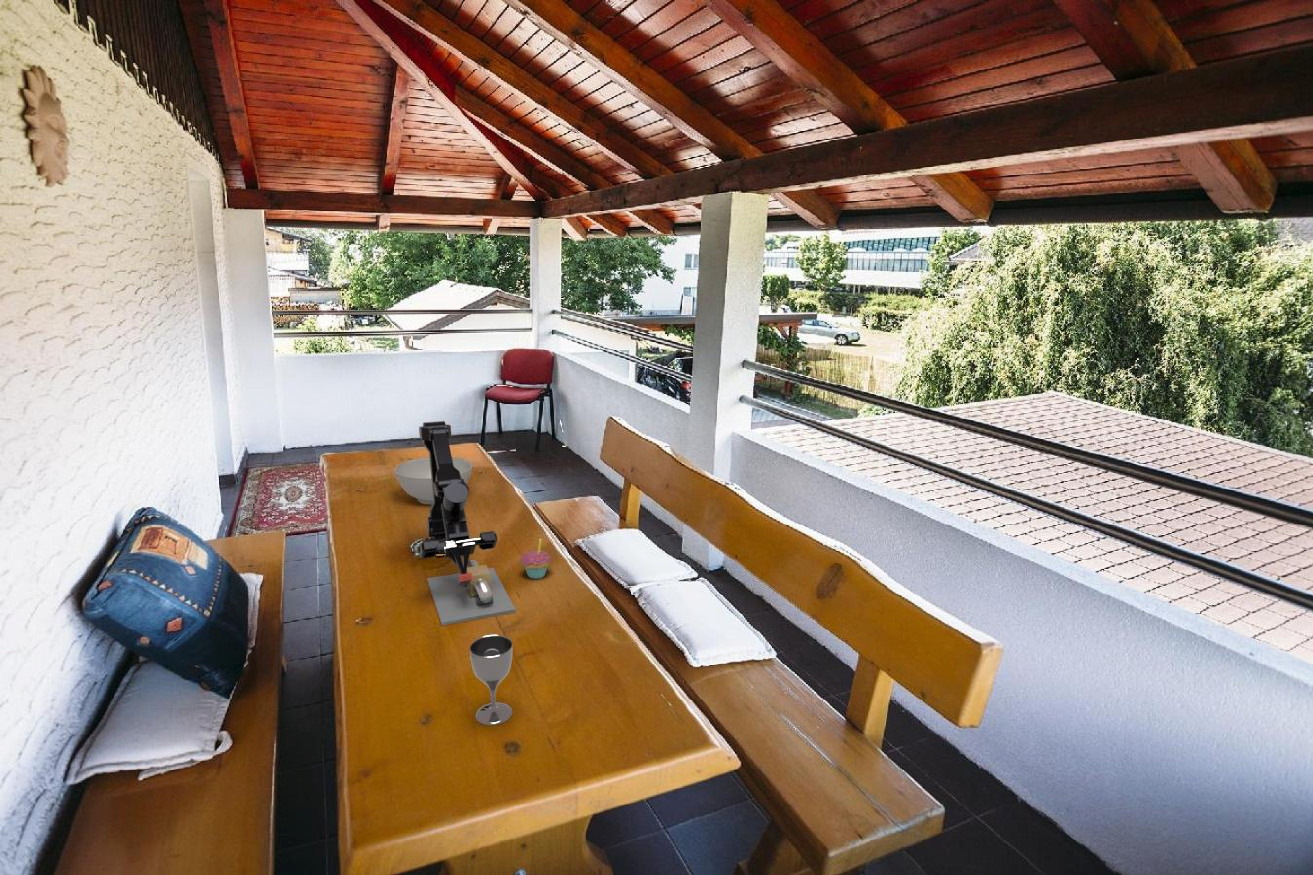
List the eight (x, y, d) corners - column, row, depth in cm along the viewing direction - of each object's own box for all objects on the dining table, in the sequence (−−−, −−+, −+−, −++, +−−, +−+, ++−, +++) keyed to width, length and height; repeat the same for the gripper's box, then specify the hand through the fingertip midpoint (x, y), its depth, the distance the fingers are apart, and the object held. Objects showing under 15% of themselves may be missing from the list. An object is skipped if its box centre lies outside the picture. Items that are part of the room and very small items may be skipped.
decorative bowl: (489, 496, 265) (488, 464, 262) (431, 517, 243) (429, 483, 240) (439, 482, 278) (437, 452, 275) (380, 501, 256) (377, 469, 253)
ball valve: (460, 577, 198) (459, 557, 196) (481, 574, 200) (480, 554, 199) (475, 610, 180) (473, 588, 179) (497, 606, 182) (496, 584, 181)
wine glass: (476, 701, 146) (473, 635, 142) (516, 700, 146) (514, 634, 143) (470, 727, 138) (466, 657, 134) (512, 725, 139) (509, 656, 135)
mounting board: (427, 580, 197) (427, 578, 197) (493, 570, 204) (493, 567, 204) (441, 625, 174) (441, 622, 174) (515, 611, 182) (515, 609, 181)
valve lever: (454, 580, 188) (460, 573, 178) (465, 578, 190) (471, 571, 179) (455, 589, 188) (461, 582, 177) (466, 587, 189) (472, 580, 179)
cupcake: (557, 572, 204) (556, 532, 201) (540, 584, 197) (539, 543, 194) (531, 566, 208) (530, 527, 205) (514, 578, 200) (512, 537, 197)
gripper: (487, 527, 198) (497, 580, 192) (416, 537, 191) (424, 593, 184) (492, 510, 190) (503, 565, 183) (417, 519, 182) (426, 577, 175)
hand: (464, 575), depth 181 cm, fingers closed, pressing on valve lever
